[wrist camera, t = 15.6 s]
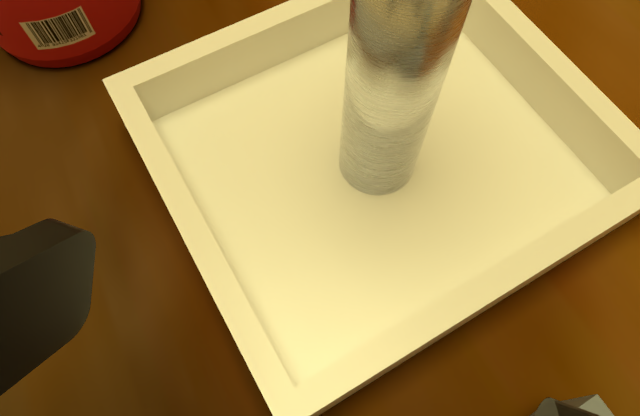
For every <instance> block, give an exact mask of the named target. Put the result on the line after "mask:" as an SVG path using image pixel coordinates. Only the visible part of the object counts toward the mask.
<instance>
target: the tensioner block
mask: <svg viewBox="0 0 640 416" xmlns="http://www.w3.org/2000/svg"><path fill="white" fill-rule="evenodd" d="M561 402H564V403H567V404H570V405H572V406H575V407H578V408H581V409H584V410H586V411H589V412H592V413H595V414H598V415H599V416H614V415H613V414H612V413H611V411H610V410H609V409H608V407H607V406H606V405H605V403H604V402H603V401H602V399H601V398H600V397H599V396H598V394H595V395H590V396H585V397H579V398H574V399H569V400H564V401H561ZM535 413H536V411H535V412H534V413H532V414H531V415H529V416H534V415H535Z"/></svg>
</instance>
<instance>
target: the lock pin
mask: <svg viewBox="0 0 640 416" xmlns="http://www.w3.org/2000/svg"><path fill="white" fill-rule="evenodd" d="M471 2H472V0H350V14H349V28H348V41H347V55H346V69H345V82H344V96H343V110H342V123H341V137H340V151H339V167H340V171H341V173H342V175H343V177H344V179H345V180H346V181H347V182H348V183H349V184H350V185H351V186H352V187H353V188H355V189H356V190H358V191H360V192H363V193H366V194H370V195H387V194H391V193H394V192H396V191H398V190H399V189H401V188H402V187H403V186H405V185H406V184H407V182H408V181H409V180H410V178H411V176H412V174H413V171H414V168H415V165H416V162H417V159H418V156H419V153H420V150H421V147H422V145H423V142H424V139H425V136H426V133H427V130H428V127H429V124H430V121H431V118H432V115H433V113H434V110H435V107H436V104H437V101H438V98H439V95H440V92H441V89H442V86H443V84H444V81H445V78H446V75H447V72H448V69H449V66H450V63H451V60H452V57H453V55H454V52H455V49H456V46H457V43H458V40H459V37H460V34H461V31H462V28H463V26H464V23H465V20H466V17H467V14H468V11H469V8H470V5H471Z"/></svg>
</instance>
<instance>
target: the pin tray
mask: <svg viewBox="0 0 640 416" xmlns="http://www.w3.org/2000/svg"><path fill="white" fill-rule="evenodd" d="M349 14H350V0H290V1H287V2H285V3H282V4H280V5H278V6H275V7H273V8H271V9H268V10H266V11H264V12H261V13H259V14H256V15H254V16H252V17H249V18H247V19H245V20H242V21H240V22H237V23H235V24H233V25H230V26H228V27H226V28H223V29H221V30H219V31H216V32H214V33H211V34H209V35H207V36H204V37H202V38H200V39H197V40H195V41H193V42H190V43H188V44H185V45H183V46H181V47H178V48H176V49H174V50H171V51H169V52H167V53H164V54H162V55H159V56H157V57H155V58H152V59H150V60H148V61H145V62H143V63H140V64H138V65H136V66H133V67H131V68H129V69H126V70H124V71H122V72H119V73H117V74H114V75H112V76H110V77H107V78H105V79H103V82H104V84H105V86H106V88H107V90H108V92H109V94H110V96H111V98H112V100H113V102H114V104H115V106H116V108H117V110H118V112H119V114H120V116H121V118H122V120H123V122H124V124H125V126H126V128H127V130H128V132H129V133H130V135H131V137H132V139H133V141H134V143H135V145H136V147H137V149H138V151H139V153H140V155H141V157H142V159H143V161H144V163H145V165H146V167H147V169H148V171H149V173H150V175H151V177H152V179H153V181H154V183H155V185H156V187H157V189H158V191H159V192H160V194H161V196H162V198H163V200H164V202H165V204H166V206H167V208H168V210H169V212H170V214H171V216H172V218H173V220H174V222H175V224H176V226H177V228H178V230H179V232H180V234H181V236H182V238H183V240H184V242H185V244H186V246H187V248H188V250H189V251H190V253H191V255H192V257H193V259H194V261H195V263H196V265H197V267H198V269H199V271H200V273H201V275H202V277H203V279H204V281H205V283H206V285H207V287H208V289H209V291H210V293H211V295H212V297H213V299H214V301H215V303H216V305H217V307H218V308H219V310H220V312H221V314H222V316H223V318H224V320H225V322H226V324H227V326H228V328H229V330H230V332H231V334H232V336H233V338H234V340H235V342H236V344H237V346H238V348H239V350H240V352H241V354H242V356H243V358H244V360H245V362H246V364H247V366H248V367H249V369H250V371H251V373H252V375H253V377H254V379H255V381H256V383H257V385H258V387H259V389H260V391H261V393H262V395H263V397H264V399H265V401H266V403H267V405H268V407H269V409H270V411H271V413H272V415H273V416H319V415H321V414H322V413H324V412H325V411H327V410H329V409H330V408H332V407H333V406H335V405H337V404H338V403H340V402H341V401H343V400H344V399H346V398H348V397H349V396H351V395H352V394H354V393H356V392H357V391H359V390H360V389H362V388H364V387H365V386H367V385H368V384H370V383H372V382H373V381H375V380H376V379H378V378H379V377H381V376H383V375H384V374H386V373H387V372H389V371H391V370H392V369H394V368H395V367H397V366H399V365H400V364H402V363H403V362H405V361H406V360H408V359H410V358H411V357H413V356H414V355H416V354H418V353H419V352H421V351H422V350H424V349H426V348H427V347H429V346H430V345H432V344H434V343H435V342H437V341H438V340H440V339H441V338H443V337H445V336H446V335H448V334H449V333H451V332H453V331H454V330H456V329H457V328H459V327H461V326H462V325H464V324H465V323H467V322H469V321H470V320H472V319H473V318H475V317H476V316H478V315H480V314H481V313H483V312H484V311H486V310H488V309H489V308H491V307H492V306H494V305H496V304H497V303H499V302H500V301H502V300H503V299H505V298H507V297H508V296H510V295H511V294H513V293H515V292H516V291H518V290H519V289H521V288H523V287H524V286H526V285H527V284H529V283H531V282H532V281H534V280H535V279H537V278H538V277H540V276H542V275H543V274H545V273H546V272H548V271H550V270H551V269H553V268H554V267H556V266H558V265H559V264H561V263H562V262H564V261H566V260H567V259H569V258H570V257H572V256H573V255H575V254H577V253H578V252H580V251H581V250H583V249H585V248H586V247H588V246H589V245H591V244H593V243H594V242H596V241H597V240H599V239H600V238H602V237H604V236H605V235H607V234H608V233H610V232H612V231H613V230H615V229H616V228H618V227H620V226H621V225H623V224H624V223H626V222H628V221H629V220H631V219H632V218H634V217H635V216H637V215H639V214H640V130H639V129H638V128H637V127H636V126H635V125H634V124H633V123H632V122H631V121H630V120H629V119H628V118H627V117H626V116H625V115H624V114H623V113H622V112H621V111H620V110H619V109H618V108H617V107H616V106H615V105H614V104H613V103H612V102H611V101H610V100H609V99H608V98H607V97H606V96H605V95H604V94H603V93H602V92H601V91H600V90H599V89H598V88H597V87H596V86H595V85H594V84H593V83H592V82H591V81H590V80H589V79H588V78H587V77H586V76H585V75H584V74H583V73H582V72H581V71H580V70H579V69H578V68H577V67H576V66H575V65H574V64H573V63H572V62H571V61H570V60H569V59H568V58H567V57H566V56H565V55H564V54H563V53H562V52H561V51H560V50H559V49H558V48H557V47H556V46H555V45H554V44H553V43H552V42H551V41H550V40H549V39H548V38H547V37H546V36H545V35H544V34H543V33H542V32H541V31H540V30H539V29H538V28H537V27H536V26H535V25H534V24H533V23H532V22H531V21H530V20H529V19H528V18H527V17H526V16H525V15H524V14H523V13H522V12H521V11H520V10H519V9H518V7H517V6H516V5H515V4H514V3H513V2H512V1H511V0H472V2H471V5H470V8H469V11H468V14H467V17H466V20H465V23H464V26H463V28H462V31H461V34H460V37H459V40H458V43H457V46H456V49H455V52H454V55H453V57H452V60H451V63H450V66H449V69H448V72H447V75H446V78H445V81H444V84H443V86H442V89H441V92H440V95H439V98H438V101H437V104H436V107H435V110H434V113H433V115H432V118H431V121H430V124H429V127H428V130H427V133H426V136H425V139H424V142H423V145H422V147H421V150H420V153H419V156H418V159H417V162H416V165H415V168H414V171H413V174H412V176H411V178H410V180H409V181H408V182H407V184H406V185H405V186H403V187H402V188H401V189H399V190H398V191H396V192H394V193H391V194H387V195H370V194H366V193H363V192H360V191H358V190H356V189H355V188H353V187H352V186H351V185H350V184H349V183H348V182H347V181H346V180H345V179H344V177H343V175H342V173H341V171H340V167H339V151H340V137H341V123H342V110H343V96H344V82H345V69H346V55H347V41H348V28H349Z"/></svg>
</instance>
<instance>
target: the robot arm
mask: <svg viewBox="0 0 640 416" xmlns="http://www.w3.org/2000/svg"><path fill="white" fill-rule="evenodd" d="M95 248H96V242H95V238H94V236H93V234H92V233H91V232H89V231H86V230H83V229H80V228H78V227H75V226H72V225H69V224H66V223H64V222H61V221H58V220H55V219H45V220H43V221H40V222H38V223H36V224H34V225H31V226H29V227H27V228H25V229H23V230H20V231H18V232H16V233H14V234H10V235H5V236H1V237H0V396H1V395H2V394H3V393H4V392H6V391H7V390H8V389H10V388H11V387H12V386H13V385H15V384H16V383H17V382H18V381H20V380H21V379H22V378H23V377H25V376H26V375H27V374H28V373H30V372H31V371H32V370H33V369H35V368H36V367H37V366H39V365H40V364H41V363H42V362H44V361H45V360H46V359H47V358H49V357H50V356H51V355H52V354H54V353H55V352H56V351H57V350H59V349H60V348H61V347H63V346H64V345H65V344H66V343H68V342H69V341H70V340H71V339H72V338H74V336H75V335H76V334H77V333H78V332H79V331H80V329H81V328H82V326H83V324H84V323H85V321H86V318H87V316H88V313H89V310H90V304H91V293H92V282H93V271H94V260H95ZM534 416H599V415H598V414H595V413H592V412H589V411H586V410H584V409H581V408H578V407H575V406H572V405H570V404H567V403H564V402H561V401H558V400H556V399H553V398H546V399H544V400H543V401H542V403H541V404H540V405H539V407H538V409H537V411H536V413H535V415H534Z"/></svg>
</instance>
